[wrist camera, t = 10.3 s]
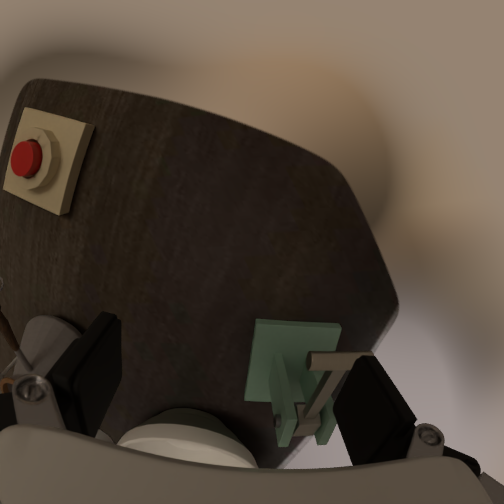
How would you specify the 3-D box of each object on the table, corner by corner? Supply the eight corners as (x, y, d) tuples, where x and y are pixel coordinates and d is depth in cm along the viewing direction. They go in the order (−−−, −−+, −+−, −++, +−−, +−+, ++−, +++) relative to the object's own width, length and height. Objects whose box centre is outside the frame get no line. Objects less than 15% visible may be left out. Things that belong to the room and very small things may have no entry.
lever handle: (308, 341, 20) (314, 368, 18) (369, 342, 20) (378, 366, 18) (276, 416, 26) (277, 436, 24) (322, 415, 27) (325, 434, 25)
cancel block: (35, 109, 24) (15, 105, 20) (95, 125, 26) (77, 121, 22) (13, 187, 26) (-7, 191, 22) (69, 212, 28) (50, 218, 24)
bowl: (229, 470, 41) (229, 512, 32) (122, 439, 38) (108, 481, 29) (278, 407, 37) (287, 460, 27) (140, 364, 34) (118, 416, 24)
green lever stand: (255, 318, 32) (265, 389, 21) (338, 323, 33) (377, 386, 22) (244, 394, 36) (247, 465, 24) (316, 396, 36) (337, 461, 25)
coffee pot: (101, 387, 35) (63, 464, 20) (37, 358, 33) (-11, 419, 19) (114, 250, 29) (36, 312, 15) (36, 223, 28) (-52, 259, 13)
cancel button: (25, 138, 22) (15, 138, 20) (46, 145, 22) (37, 145, 21) (17, 170, 23) (7, 171, 21) (37, 179, 23) (28, 180, 22)
